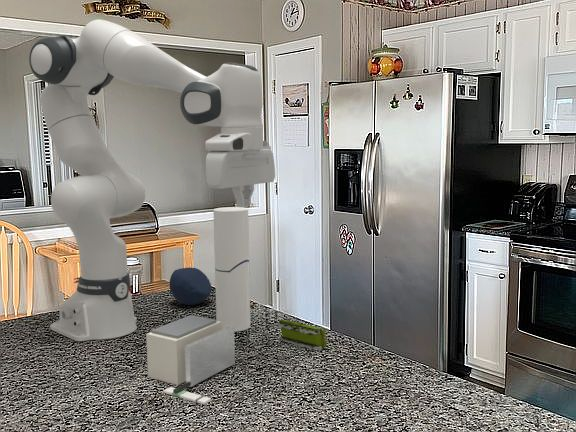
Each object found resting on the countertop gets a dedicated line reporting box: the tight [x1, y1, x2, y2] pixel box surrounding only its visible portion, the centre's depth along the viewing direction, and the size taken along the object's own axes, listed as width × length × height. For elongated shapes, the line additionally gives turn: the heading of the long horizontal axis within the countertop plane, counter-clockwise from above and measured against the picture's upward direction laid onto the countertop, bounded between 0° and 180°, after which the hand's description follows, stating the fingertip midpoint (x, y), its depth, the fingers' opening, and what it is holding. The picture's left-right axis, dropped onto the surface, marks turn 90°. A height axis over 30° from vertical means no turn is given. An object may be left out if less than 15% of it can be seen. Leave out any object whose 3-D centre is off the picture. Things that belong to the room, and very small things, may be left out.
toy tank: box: [266, 319, 328, 351], centre depth 145 cm, size 7×19×10 cm
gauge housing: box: [145, 314, 222, 405], centre depth 123 cm, size 18×18×10 cm
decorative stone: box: [169, 267, 213, 306], centre depth 176 cm, size 12×12×10 cm
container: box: [213, 206, 251, 333], centre depth 154 cm, size 9×9×30 cm
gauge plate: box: [173, 326, 236, 393], centre depth 125 cm, size 11×18×8 cm, turn 148°
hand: (243, 206), depth 131 cm, fingers closed
